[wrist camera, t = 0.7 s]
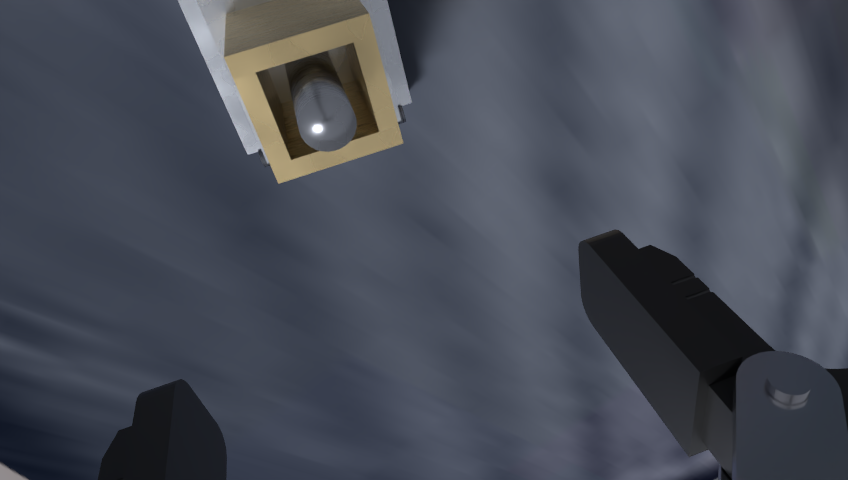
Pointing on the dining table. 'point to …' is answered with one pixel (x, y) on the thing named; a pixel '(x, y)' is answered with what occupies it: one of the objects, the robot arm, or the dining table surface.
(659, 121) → the dining table surface
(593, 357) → the dining table surface
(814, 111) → the dining table surface
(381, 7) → the block
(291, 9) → the collar
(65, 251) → the dining table surface
